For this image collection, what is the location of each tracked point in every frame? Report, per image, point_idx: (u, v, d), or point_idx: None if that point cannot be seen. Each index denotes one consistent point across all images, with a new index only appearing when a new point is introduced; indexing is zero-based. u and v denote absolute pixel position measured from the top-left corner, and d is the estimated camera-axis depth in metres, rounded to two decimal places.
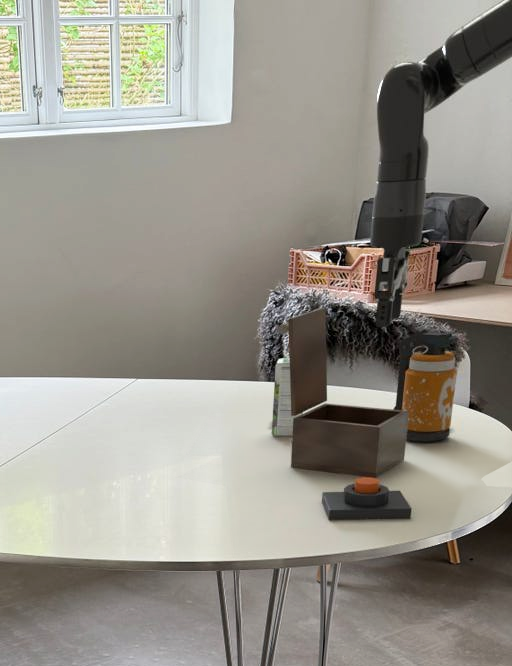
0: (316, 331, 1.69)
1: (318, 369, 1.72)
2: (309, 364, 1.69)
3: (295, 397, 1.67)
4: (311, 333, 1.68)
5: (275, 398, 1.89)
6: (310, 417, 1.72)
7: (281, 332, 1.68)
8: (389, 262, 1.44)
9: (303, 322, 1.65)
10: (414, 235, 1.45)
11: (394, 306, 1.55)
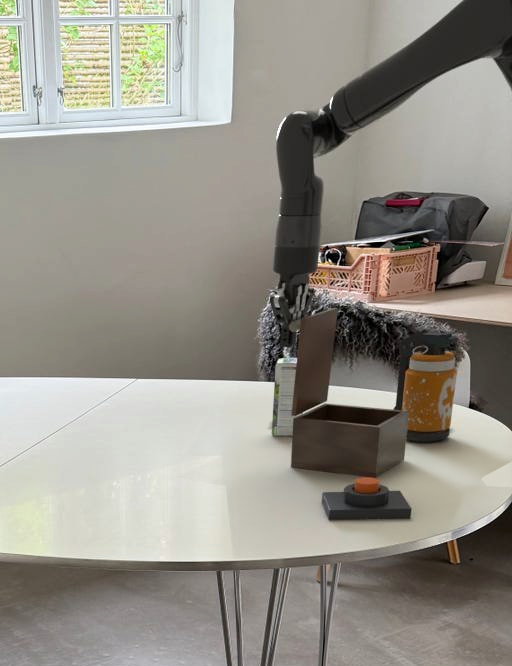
0: (326, 332, 1.68)
1: (323, 370, 1.72)
2: (315, 365, 1.69)
3: (298, 397, 1.67)
4: (321, 334, 1.67)
5: (275, 398, 1.89)
6: (310, 417, 1.72)
7: (291, 329, 1.67)
8: (279, 302, 1.63)
9: (315, 323, 1.64)
10: (306, 264, 1.61)
11: None
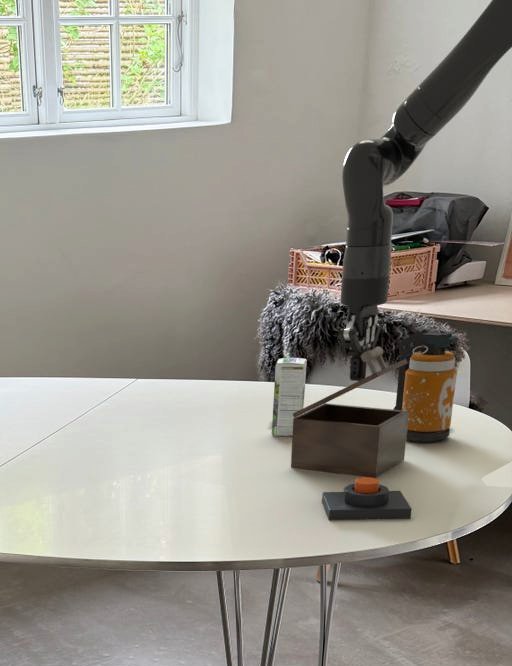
0: None
1: None
2: None
3: None
4: (375, 378, 1.64)
5: (275, 398, 1.89)
6: (310, 417, 1.72)
7: (362, 357, 1.61)
8: (349, 336, 1.57)
9: (380, 375, 1.60)
10: (376, 295, 1.56)
11: None
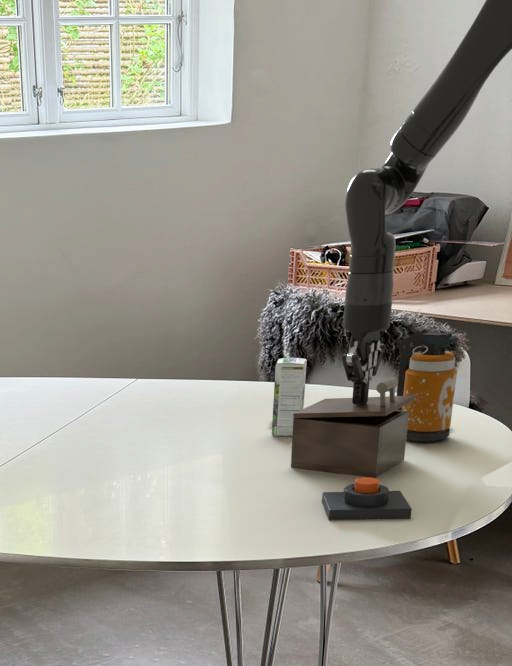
0: None
1: None
2: None
3: (310, 417, 1.67)
4: None
5: (275, 398, 1.89)
6: None
7: (378, 386, 1.61)
8: (352, 361, 1.59)
9: None
10: (379, 322, 1.57)
11: None
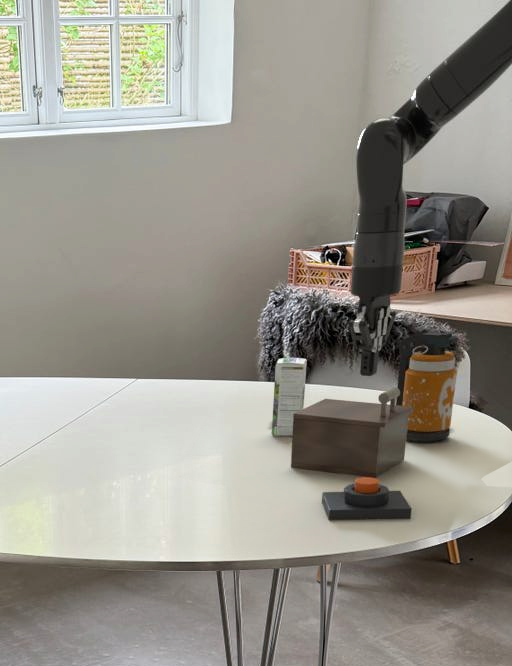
0: None
1: None
2: None
3: (310, 419, 1.67)
4: None
5: (275, 398, 1.89)
6: None
7: (380, 396, 1.61)
8: (359, 328, 1.48)
9: None
10: (388, 285, 1.47)
11: None
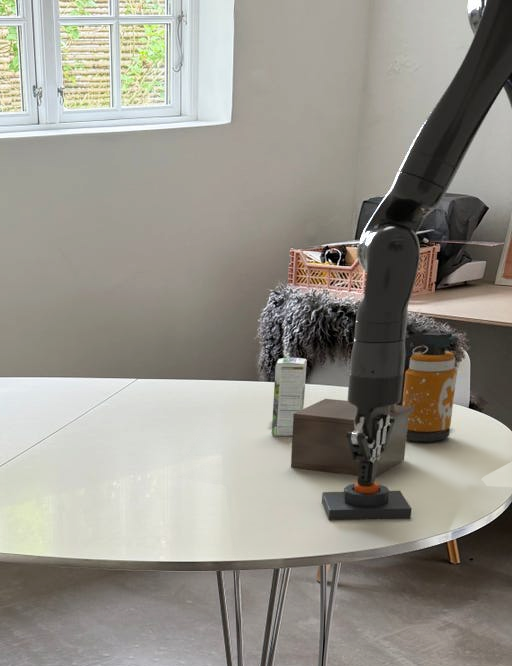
0: None
1: None
2: None
3: (310, 419, 1.67)
4: None
5: (275, 398, 1.89)
6: None
7: None
8: (357, 440, 1.39)
9: None
10: (388, 396, 1.38)
11: None
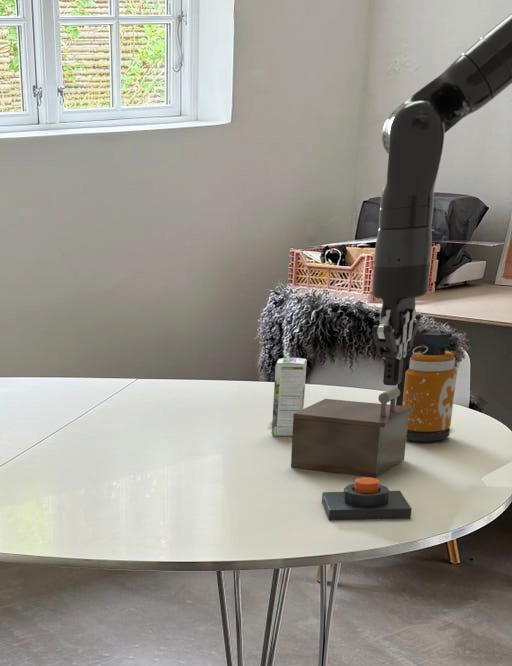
0: None
1: None
2: None
3: (310, 419, 1.67)
4: None
5: (275, 398, 1.89)
6: None
7: (380, 396, 1.61)
8: (384, 333, 1.35)
9: None
10: (415, 286, 1.33)
11: None
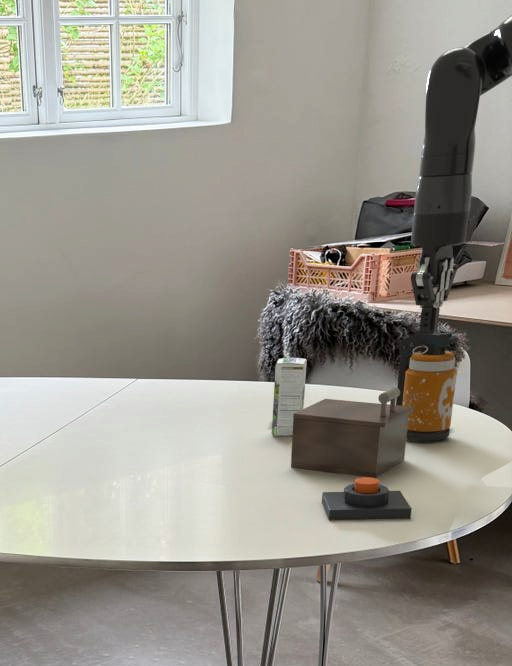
0: None
1: None
2: None
3: (310, 419, 1.67)
4: None
5: (275, 398, 1.89)
6: None
7: (380, 396, 1.61)
8: (423, 280, 1.37)
9: None
10: (455, 233, 1.36)
11: None
